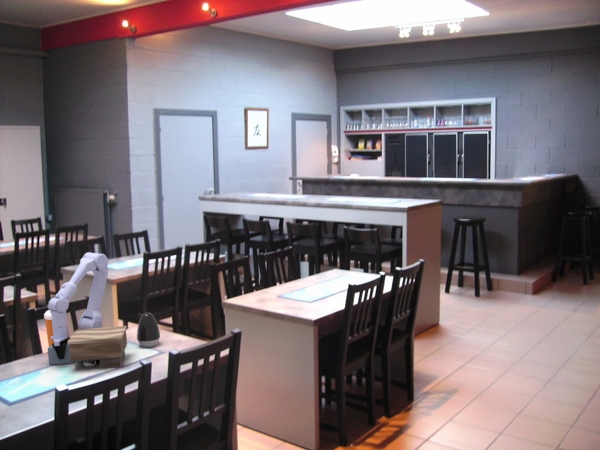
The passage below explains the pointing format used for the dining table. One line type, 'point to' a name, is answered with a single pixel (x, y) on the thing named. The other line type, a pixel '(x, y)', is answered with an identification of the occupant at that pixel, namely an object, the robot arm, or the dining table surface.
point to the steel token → (89, 362)
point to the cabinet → (99, 345)
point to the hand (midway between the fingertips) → (62, 357)
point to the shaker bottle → (49, 326)
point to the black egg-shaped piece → (147, 330)
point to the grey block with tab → (54, 359)
